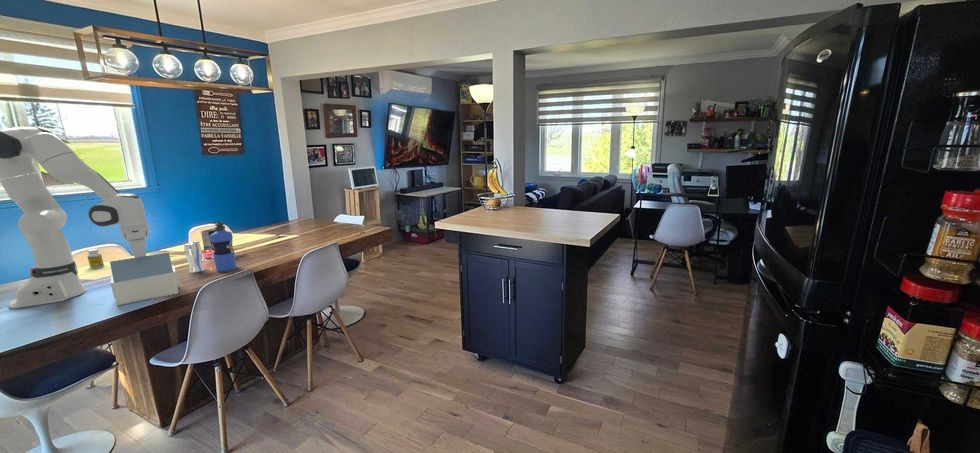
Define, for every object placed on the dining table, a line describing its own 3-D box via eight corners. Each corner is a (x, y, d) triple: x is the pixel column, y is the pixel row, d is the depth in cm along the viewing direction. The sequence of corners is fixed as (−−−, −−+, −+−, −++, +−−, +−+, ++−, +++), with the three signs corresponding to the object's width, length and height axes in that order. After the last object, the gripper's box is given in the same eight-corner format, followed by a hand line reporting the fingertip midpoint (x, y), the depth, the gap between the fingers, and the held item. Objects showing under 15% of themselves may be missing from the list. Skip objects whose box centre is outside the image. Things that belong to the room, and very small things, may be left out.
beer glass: (191, 274, 203) (185, 245, 200) (186, 271, 208) (181, 243, 204) (207, 270, 209) (202, 242, 206) (202, 268, 213) (197, 240, 210)
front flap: (113, 282, 163) (113, 282, 162) (110, 261, 164) (109, 261, 164) (173, 272, 175) (173, 271, 175) (168, 252, 177) (168, 252, 176)
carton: (115, 306, 164) (110, 283, 162) (116, 296, 175) (111, 274, 173) (180, 293, 178) (175, 271, 176) (177, 284, 188) (173, 264, 186)
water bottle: (213, 273, 204) (204, 224, 199) (219, 267, 213) (212, 221, 208) (233, 271, 207) (226, 223, 201) (239, 265, 216) (232, 219, 210)
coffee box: (214, 259, 229) (209, 231, 225) (205, 258, 230) (200, 231, 226) (227, 254, 237) (223, 227, 234) (218, 254, 239) (214, 227, 235)
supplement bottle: (103, 264, 221) (100, 247, 219) (104, 266, 217) (100, 249, 215) (90, 267, 218) (86, 249, 216) (90, 269, 214) (86, 251, 212)
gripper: (125, 229, 177) (132, 259, 180) (125, 237, 162) (132, 270, 165) (144, 226, 181) (150, 256, 184) (146, 234, 166) (152, 266, 169)
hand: (142, 263), depth 174 cm, fingers closed
